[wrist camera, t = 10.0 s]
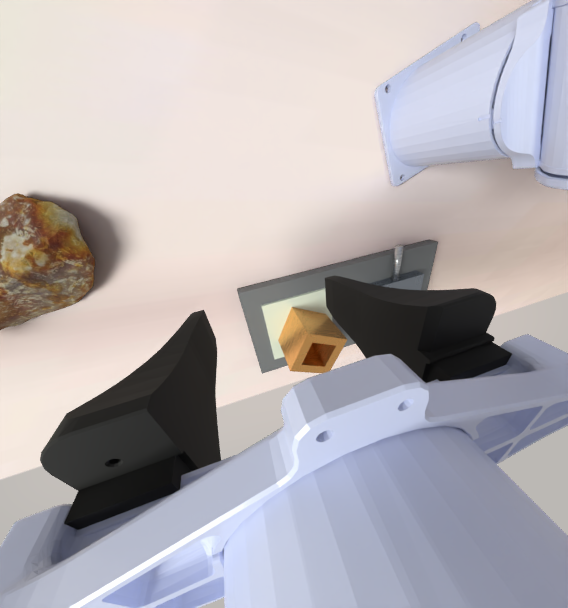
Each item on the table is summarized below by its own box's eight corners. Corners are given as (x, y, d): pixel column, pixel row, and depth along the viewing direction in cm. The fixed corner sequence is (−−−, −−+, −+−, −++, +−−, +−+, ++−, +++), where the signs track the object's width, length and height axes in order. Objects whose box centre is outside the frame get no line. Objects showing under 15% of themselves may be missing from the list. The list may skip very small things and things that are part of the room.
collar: (325, 313, 25) (347, 339, 21) (311, 344, 27) (328, 373, 23) (291, 307, 24) (307, 333, 19) (278, 340, 25) (290, 371, 21)
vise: (421, 237, 24) (457, 247, 21) (408, 310, 29) (434, 327, 26) (366, 251, 23) (394, 264, 20) (362, 324, 28) (384, 344, 25)
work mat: (429, 239, 26) (440, 242, 25) (413, 318, 32) (421, 323, 31) (237, 288, 22) (238, 295, 21) (260, 366, 29) (262, 375, 27)
